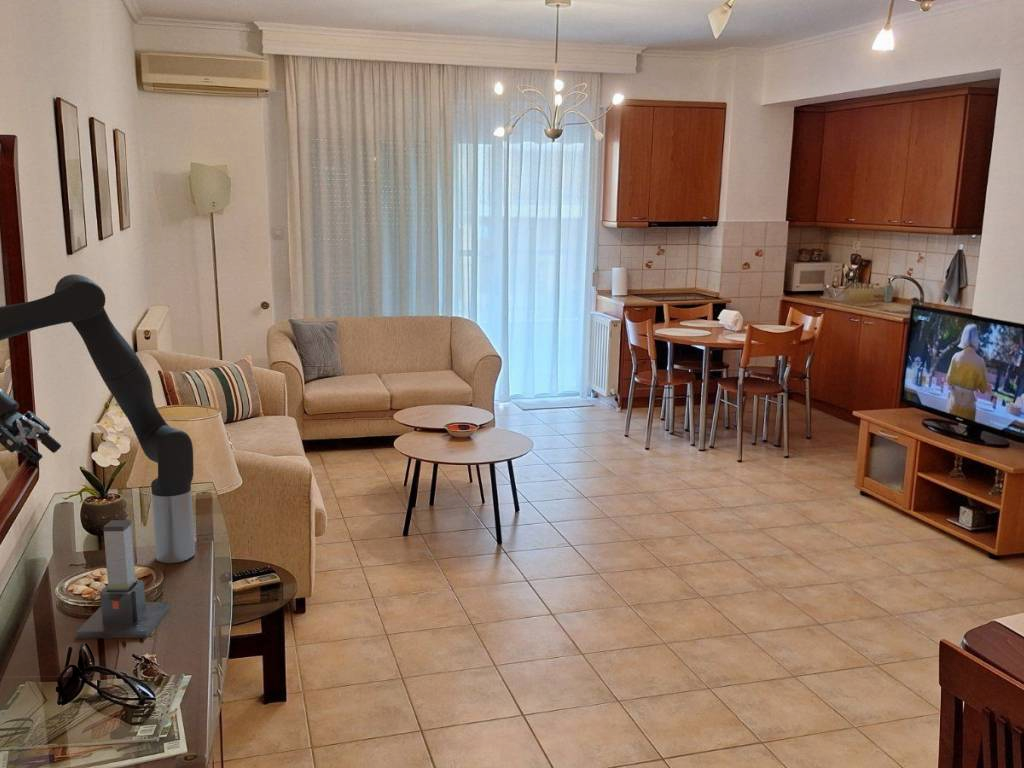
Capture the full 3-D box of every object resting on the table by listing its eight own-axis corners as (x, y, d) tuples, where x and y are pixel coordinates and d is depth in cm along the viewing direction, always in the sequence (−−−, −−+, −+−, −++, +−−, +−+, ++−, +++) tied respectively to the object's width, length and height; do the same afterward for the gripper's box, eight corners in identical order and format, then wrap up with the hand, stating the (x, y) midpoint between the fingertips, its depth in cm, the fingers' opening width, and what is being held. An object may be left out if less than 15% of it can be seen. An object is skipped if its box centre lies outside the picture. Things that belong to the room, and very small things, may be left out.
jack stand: (105, 608, 197) (102, 574, 196) (170, 608, 198) (167, 573, 196) (76, 638, 184) (73, 601, 182) (146, 637, 184) (143, 600, 183)
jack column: (117, 591, 191) (111, 520, 189) (136, 591, 192) (130, 520, 189) (109, 599, 187) (103, 526, 184) (128, 599, 188) (123, 526, 185)
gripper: (-19, 396, 182) (44, 451, 184) (16, 383, 196) (75, 434, 198) (-44, 422, 182) (20, 476, 185) (-7, 407, 196) (52, 458, 199)
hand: (48, 454), depth 191 cm, fingers open, 8 cm apart
